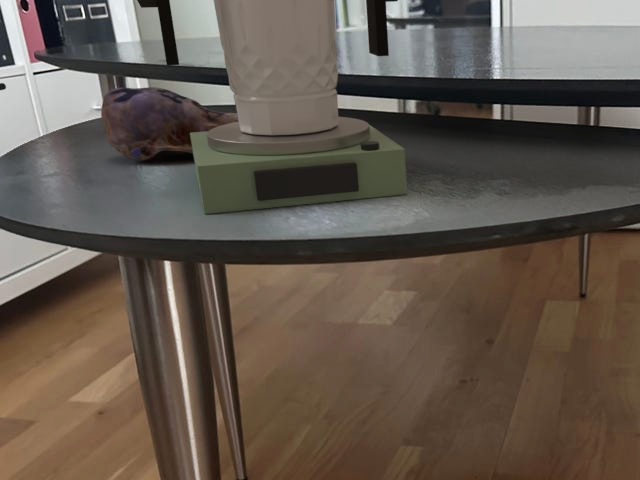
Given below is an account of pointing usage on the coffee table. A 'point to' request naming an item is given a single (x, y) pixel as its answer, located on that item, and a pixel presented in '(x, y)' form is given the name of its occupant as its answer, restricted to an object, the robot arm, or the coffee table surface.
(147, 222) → the coffee table surface
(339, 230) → the coffee table surface
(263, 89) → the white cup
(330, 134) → the scale pan
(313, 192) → the scale
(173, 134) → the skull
